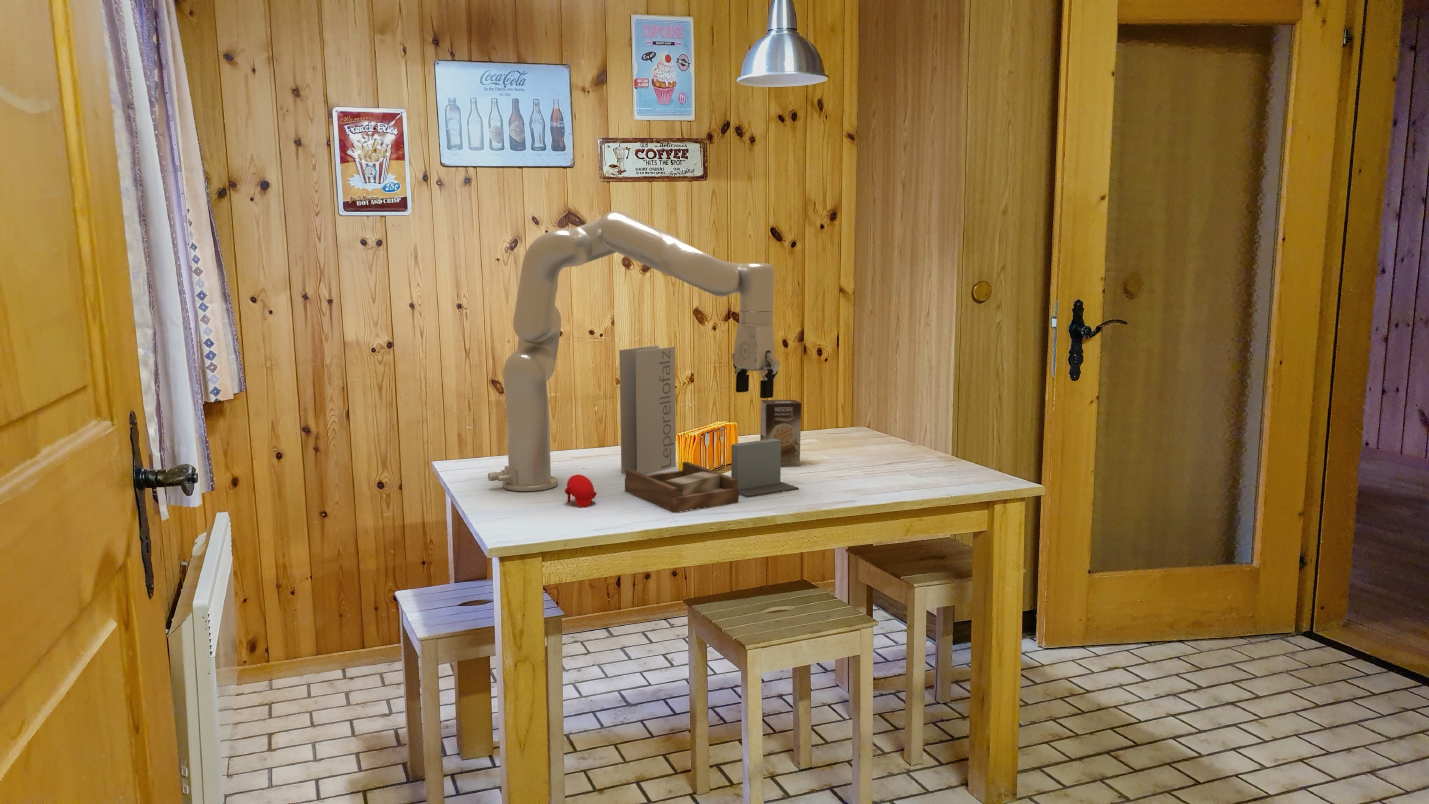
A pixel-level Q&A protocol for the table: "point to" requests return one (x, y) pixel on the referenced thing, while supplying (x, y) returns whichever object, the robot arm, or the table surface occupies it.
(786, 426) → the coffee box
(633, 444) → the grey tall box
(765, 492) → the mat
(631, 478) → the tray
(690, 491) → the offcut upper
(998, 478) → the table surface
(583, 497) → the cap
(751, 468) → the grey rectangular panel
